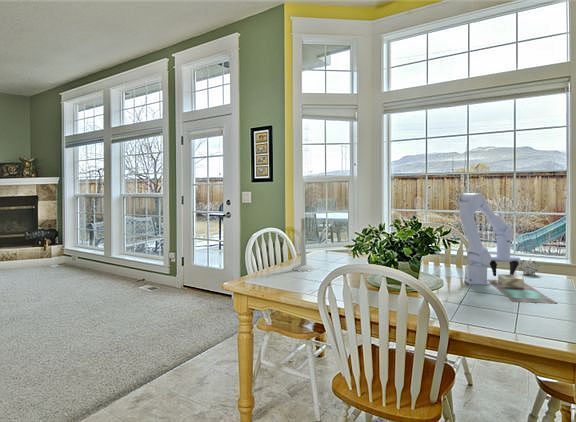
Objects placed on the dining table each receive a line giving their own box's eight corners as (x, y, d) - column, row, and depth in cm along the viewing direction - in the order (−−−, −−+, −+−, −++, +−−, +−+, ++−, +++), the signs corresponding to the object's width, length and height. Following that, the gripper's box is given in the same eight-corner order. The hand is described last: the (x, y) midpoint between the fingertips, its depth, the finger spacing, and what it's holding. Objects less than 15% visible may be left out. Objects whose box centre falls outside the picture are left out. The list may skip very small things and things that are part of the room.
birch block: (504, 287, 167) (504, 278, 167) (498, 282, 175) (498, 274, 175) (523, 287, 165) (523, 279, 165) (516, 283, 173) (516, 274, 173)
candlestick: (291, 267, 216) (290, 217, 214) (312, 266, 218) (312, 216, 215) (294, 272, 204) (293, 219, 201) (316, 271, 205) (316, 218, 203)
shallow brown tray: (513, 301, 147) (513, 301, 147) (485, 279, 181) (485, 279, 181) (557, 303, 144) (557, 303, 144) (521, 280, 177) (521, 280, 177)
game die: (533, 282, 188) (545, 269, 182) (516, 275, 189) (527, 263, 183) (530, 270, 195) (541, 258, 188) (514, 264, 196) (525, 252, 190)
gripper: (490, 250, 176) (489, 277, 177) (523, 250, 173) (522, 278, 174) (485, 247, 183) (485, 274, 184) (517, 248, 180) (516, 274, 181)
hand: (503, 276), depth 179 cm, fingers open, 7 cm apart
